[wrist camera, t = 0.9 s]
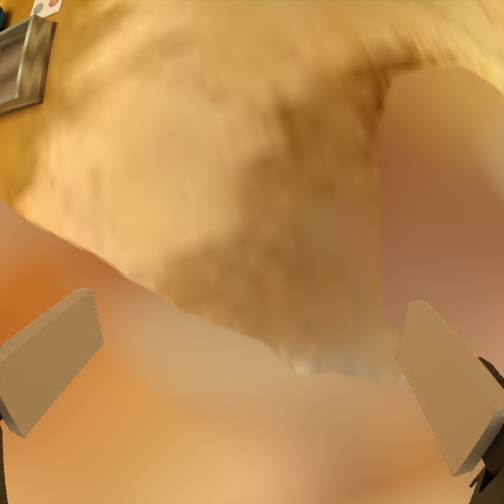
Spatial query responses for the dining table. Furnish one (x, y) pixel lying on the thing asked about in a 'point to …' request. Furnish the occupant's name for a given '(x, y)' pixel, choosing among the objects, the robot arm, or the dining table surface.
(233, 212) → the dining table surface
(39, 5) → the card
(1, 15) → the ornament
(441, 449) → the robot arm
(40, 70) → the two-compartment wooden tray
